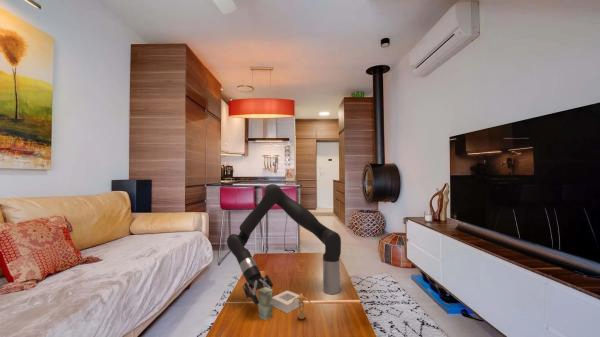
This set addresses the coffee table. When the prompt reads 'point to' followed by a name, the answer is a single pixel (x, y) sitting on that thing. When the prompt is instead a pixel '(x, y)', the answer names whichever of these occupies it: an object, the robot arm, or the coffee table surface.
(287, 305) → the white well block
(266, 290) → the green metallic peg
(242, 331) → the coffee table surface
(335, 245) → the robot arm
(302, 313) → the figurine
